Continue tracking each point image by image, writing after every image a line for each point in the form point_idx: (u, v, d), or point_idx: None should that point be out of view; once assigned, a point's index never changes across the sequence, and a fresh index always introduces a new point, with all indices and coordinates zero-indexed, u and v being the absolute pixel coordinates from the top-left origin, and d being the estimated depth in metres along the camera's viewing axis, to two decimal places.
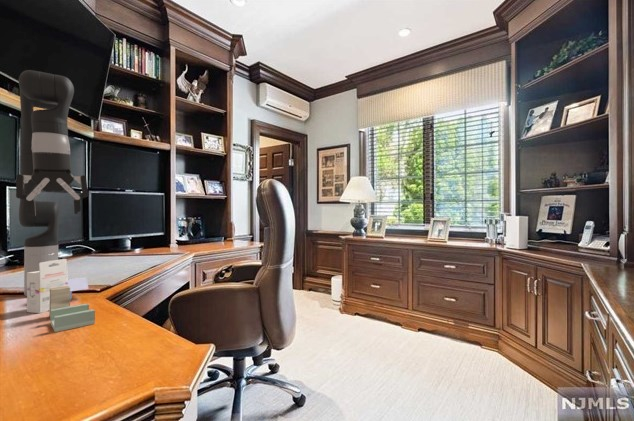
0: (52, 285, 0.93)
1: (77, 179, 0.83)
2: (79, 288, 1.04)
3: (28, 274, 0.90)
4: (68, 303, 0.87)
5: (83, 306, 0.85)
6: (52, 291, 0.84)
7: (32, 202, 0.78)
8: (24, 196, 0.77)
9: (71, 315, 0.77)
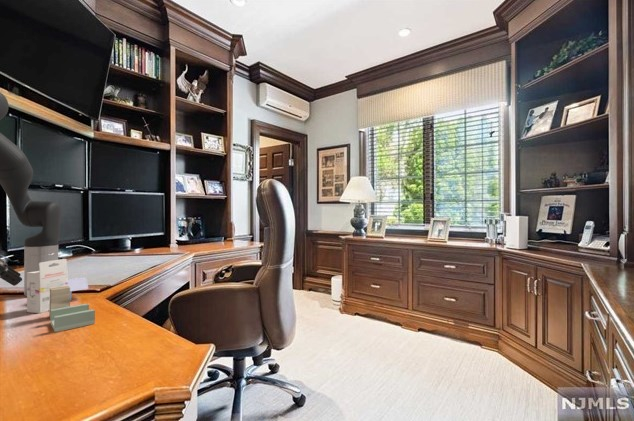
0: (52, 285, 0.93)
1: None
2: (79, 288, 1.04)
3: (28, 274, 0.90)
4: (68, 303, 0.87)
5: (83, 306, 0.85)
6: (52, 291, 0.84)
7: None
8: None
9: (71, 315, 0.77)
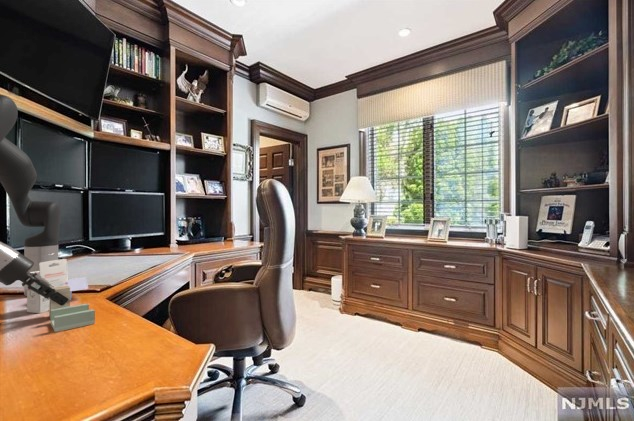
0: (52, 285, 0.93)
1: None
2: (79, 288, 1.04)
3: None
4: (68, 303, 0.87)
5: (83, 306, 0.85)
6: None
7: None
8: None
9: (71, 315, 0.77)
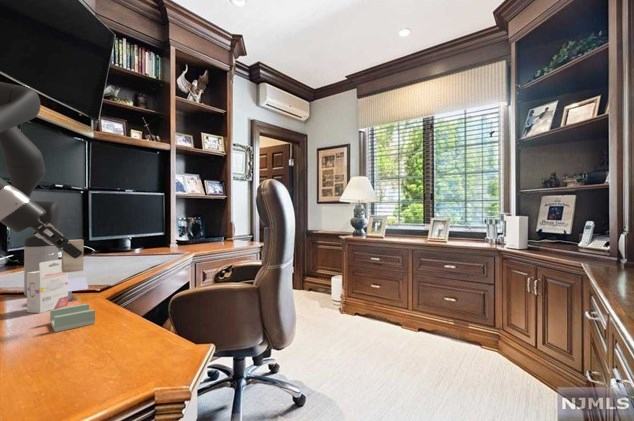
0: (52, 285, 0.93)
1: None
2: (79, 288, 1.04)
3: (28, 274, 0.90)
4: (81, 257, 0.81)
5: (83, 306, 0.85)
6: None
7: None
8: None
9: (71, 315, 0.77)
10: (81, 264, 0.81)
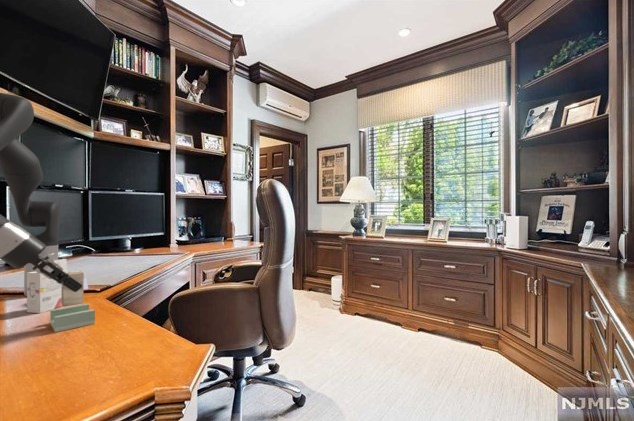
0: (52, 285, 0.93)
1: None
2: None
3: (28, 274, 0.90)
4: (81, 289, 0.81)
5: (83, 306, 0.85)
6: None
7: None
8: None
9: (71, 315, 0.77)
10: (81, 297, 0.81)
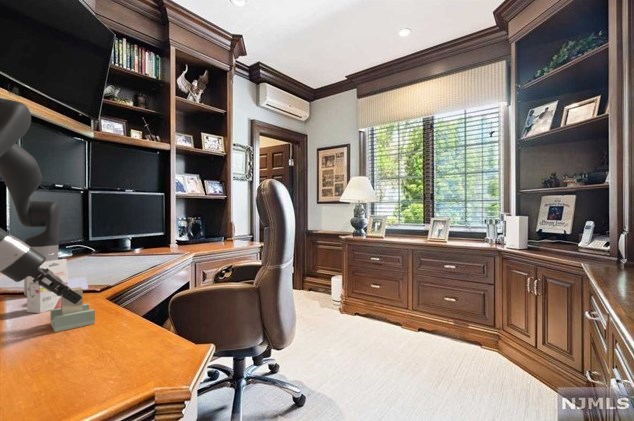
0: None
1: None
2: None
3: None
4: (81, 306, 0.81)
5: (83, 306, 0.85)
6: None
7: None
8: None
9: (71, 315, 0.77)
10: None
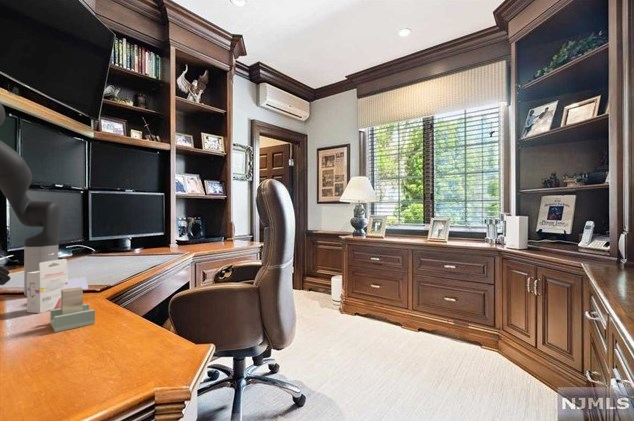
0: (52, 285, 0.93)
1: None
2: None
3: (28, 274, 0.90)
4: (81, 306, 0.81)
5: (83, 306, 0.85)
6: (64, 293, 0.78)
7: None
8: None
9: (71, 315, 0.77)
10: None
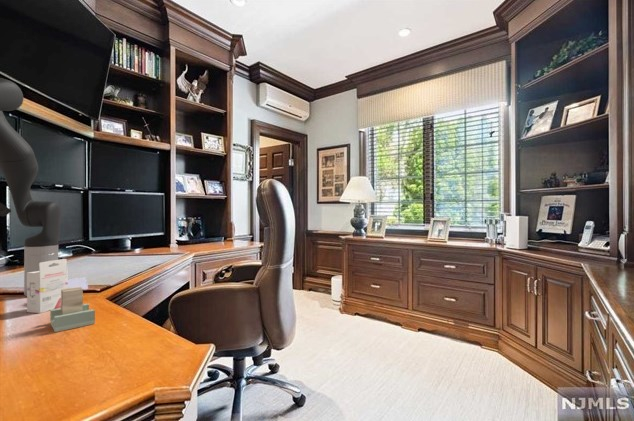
0: (52, 285, 0.93)
1: None
2: None
3: (28, 274, 0.90)
4: (81, 306, 0.81)
5: (83, 306, 0.85)
6: (64, 293, 0.78)
7: None
8: None
9: (71, 315, 0.77)
10: None
